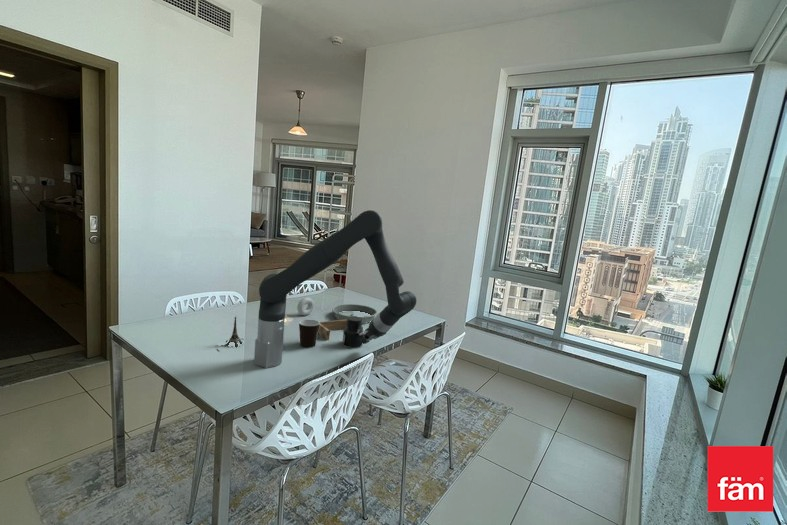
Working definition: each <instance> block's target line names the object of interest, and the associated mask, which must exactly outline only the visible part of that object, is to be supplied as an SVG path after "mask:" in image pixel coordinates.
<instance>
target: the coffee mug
mask: <svg viewBox="0 0 787 525" xmlns="http://www.w3.org/2000/svg"><path fill="white" fill-rule="evenodd" d="M320 322H321V321H319V320H316V319H311V318H310V319H309V318H307V319H302V320H301V319H300V320H299V322H298V326H299V327H298V330H299V331H298V332H299V345H300V347H301V346H302V348H306V349H311V348H314V347H315V346H316V344H317V338H318V335H319V334H318V329H319V324H320Z"/></svg>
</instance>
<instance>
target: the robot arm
mask: <svg viewBox="0 0 787 525" xmlns="http://www.w3.org/2000/svg"><path fill="white" fill-rule="evenodd" d="M364 239H365V241H366V243H367V244H368V246H369V248H370V251H371V253H372V255H373V257H374V260H375V261H374V262H375V263H376V266H377V269H378V271H379V274H380V277H381V279H382V282H383V284H384V286H385V293H386V300H387V305H386V306H385V307H384V308H383V309H382V310H381V311H380V312H379V313H377V314H376V315H375V317H374V319H373V320H372V321H371V322H370V323H368V324H369V325H368V328H366V329H365V330H363V331H364V332H363V331H359V334H360V338H361V339H362V345H366V344H368V343H369V342H370V341H372V340H376V339H378V338H381V337H383V336H384V335H387V332H389V331H390V329H392V328H393V326H394V325H395V324H396V323H397V322H398V321H399V320H400V319H401V318H403V317H404V316H406V315H408V314H409V313H410V312H411V311H413V309H414V308H415V307H416V306H417V297H416V295H415V293H413V292H411V291H407V290H406V291H403V292H401V293H400V287H401V286H403V284H404V279H403V278H404V277H403V275H402V273H401V271H400V269H399V267H398V263H397V262H396V260H395V258H394V257H393V255H392V252H391V251H390V249H389V247H388V245H387V242H386V239H385V235H384V230H383V220H382V217H381V215H380V213H379V212H377V211H375V210H372V209H371V210H368V209H367V210H365V211H362V212H361V213H360V214H359V215H357V216H356V217H354V218H353V219H352V220H351V221H350V222H349V223H348V224H347V225H344V227H342V228H341V229H338V230H337V231H336V232H334V233H332V234H331V235H329V236H327V237H326V238H324V239H323V240H321V241H319V242H318V243H316V244H314V245H313V246H312V247H311V248H309V249H307V250H306V251H304V253H302V254H301V256H299V257H298V258H297V259H296V260H295V261H294V262H293V263H292V264H291V265H290V266H288V267H287V268H285V269H284V270H282V271H280V272H278V273H270V274H267V275H266V276H265V277H264V278H263V279H262V281H261V282H260V285H259V288H258V293H259V297H260V300H259V301H260V302H259V309H258V316H257V318H258V320H257V322H258V324H257V338H255V340H254V355H253V356H254V357H253V364H254V365H257V366H259V367H262V368H265V369H267V368H271V367H277V366H280V365H281V364H282V362H283V352H284V349H283V347H284V334H285V318H286V317H285V316H286V310H287V309H286V308H287V295H288V294H289V293H291V292H292V291H293V290H294V289H296V288H297V287H298V286H300V285H301V284H302V283H304V282H306V281H307V280H309V279H311V278H313V277H315V276H316V275H318V274H319V273H322V272H323V271H325V270H326V269H328V268H329V267H330V266H332V265H333V264H335V263H336V262H338V260H340V259H341V258H343V256H344V255H345V254H346V253H347V252H348V251H349V250H350V249H351V248H352V247H353V246H354V245H356V244H357V243H358V242H361V241H363V240H364Z"/></svg>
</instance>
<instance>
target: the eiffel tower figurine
mask: <svg viewBox="0 0 787 525" xmlns="http://www.w3.org/2000/svg"><path fill="white" fill-rule="evenodd" d="M234 316H235V317H234V323H233V330H232V333H231V337H230V338H229V342H228V343H227V344H226V345H225V347H226V346H228V345H229V343H230V342H234V343H235V347H236V348H235V349H238V348H239V347H238V344H237V343H240V344H242V343H243V341H242V339H241V338H240V337H239V335H238V331H237V315H234ZM242 345H243V344H242ZM237 347H238V348H237Z"/></svg>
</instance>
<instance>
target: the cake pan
mask: <svg viewBox="0 0 787 525" xmlns="http://www.w3.org/2000/svg"><path fill="white" fill-rule="evenodd" d="M342 311H360V312H365V313H368V314H370V315H371V316H364V317H360V318H362V323H365V324H367V323H366V322H370V321H372V320H373V319H374V318H375V317H376V316H377V314H378V310H376V309H375V307H374V308H373V307H371V306H368V305H363V304H357V303H356V304H354V303H343V304H338V305H335V306H333V307H332V312H333V313H334V317H336V318H337V319H336V318H335V319H336V320H345V319H347V317H350V315H346V314H342V313H343V312H342ZM339 312H342V313H339Z"/></svg>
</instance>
